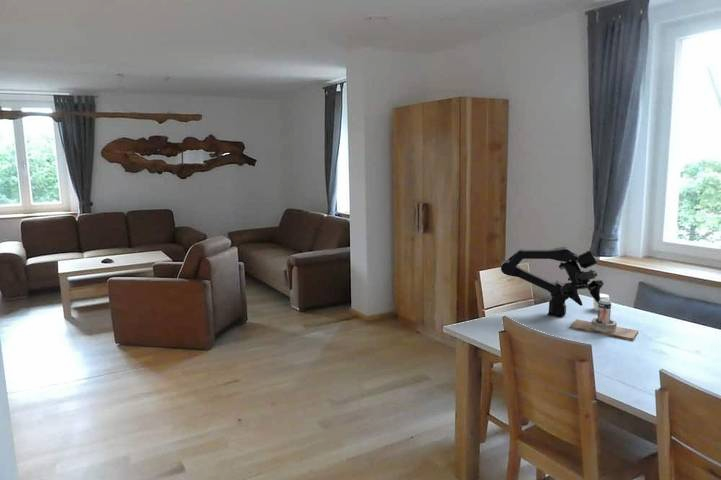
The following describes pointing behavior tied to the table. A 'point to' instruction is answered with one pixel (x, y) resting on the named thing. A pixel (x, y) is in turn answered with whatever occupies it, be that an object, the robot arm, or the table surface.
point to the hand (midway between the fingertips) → (590, 304)
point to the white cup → (602, 296)
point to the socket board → (604, 329)
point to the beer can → (604, 311)
